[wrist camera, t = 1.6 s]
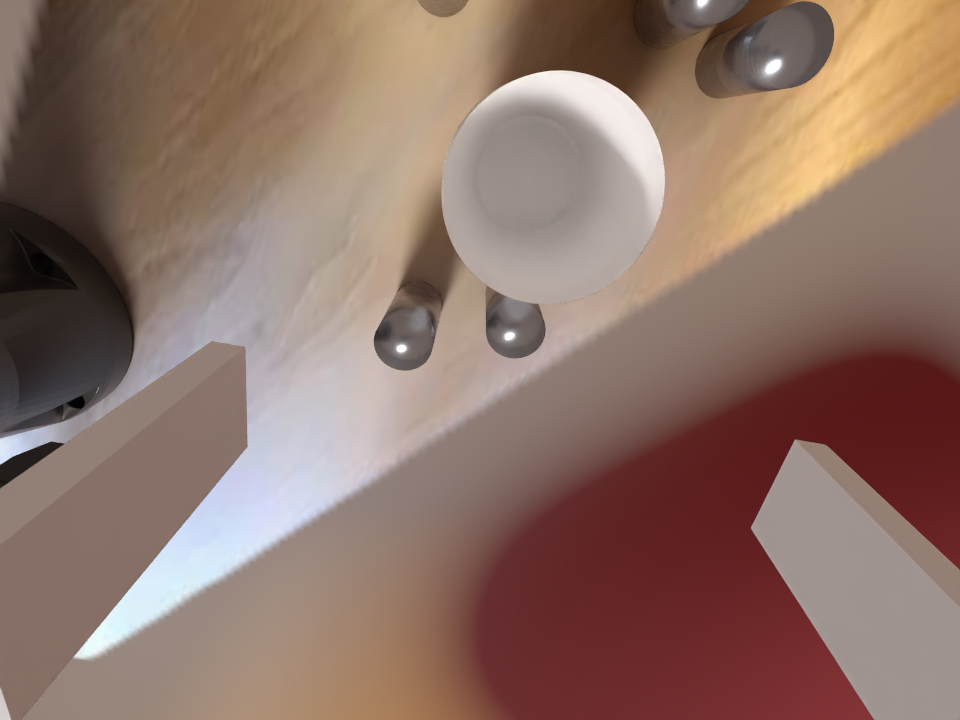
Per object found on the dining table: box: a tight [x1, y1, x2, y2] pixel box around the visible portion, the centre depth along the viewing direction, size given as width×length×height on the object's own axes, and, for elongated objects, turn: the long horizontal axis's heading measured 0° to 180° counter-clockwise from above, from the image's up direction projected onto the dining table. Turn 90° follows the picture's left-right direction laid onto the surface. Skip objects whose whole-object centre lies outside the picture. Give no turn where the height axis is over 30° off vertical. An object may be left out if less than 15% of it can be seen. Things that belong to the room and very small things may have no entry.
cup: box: [441, 70, 665, 304], centre depth 25 cm, size 9×9×12 cm
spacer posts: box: [374, 0, 834, 370], centre depth 27 cm, size 19×21×7 cm
